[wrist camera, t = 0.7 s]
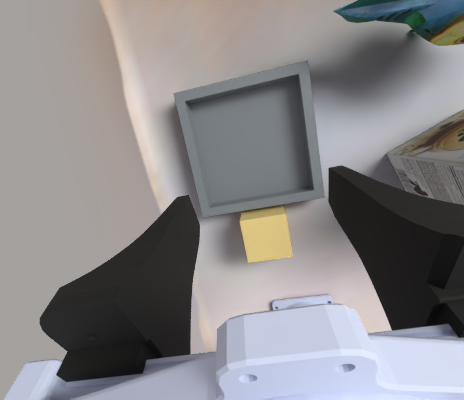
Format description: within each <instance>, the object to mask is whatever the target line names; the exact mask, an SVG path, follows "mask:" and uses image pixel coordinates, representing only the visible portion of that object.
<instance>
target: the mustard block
mask: <svg viewBox="0 0 464 400" xmlns="http://www.w3.org/2000/svg"><path fill="white" fill-rule="evenodd" d="M240 226H241V230H242V235H243V240H244V245H245V250H246V255H247V260H248V263H250V262H258V261H265V260H273V259H281V258H288V257H293V254H292V247H291V241H290V235H289V228H288V222H287V216H286V212H285V209H284V207H283V204H282V205H276V206H270V207H264V208H257V209H251V210H245V211H242V213H241V217H240Z"/></svg>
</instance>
